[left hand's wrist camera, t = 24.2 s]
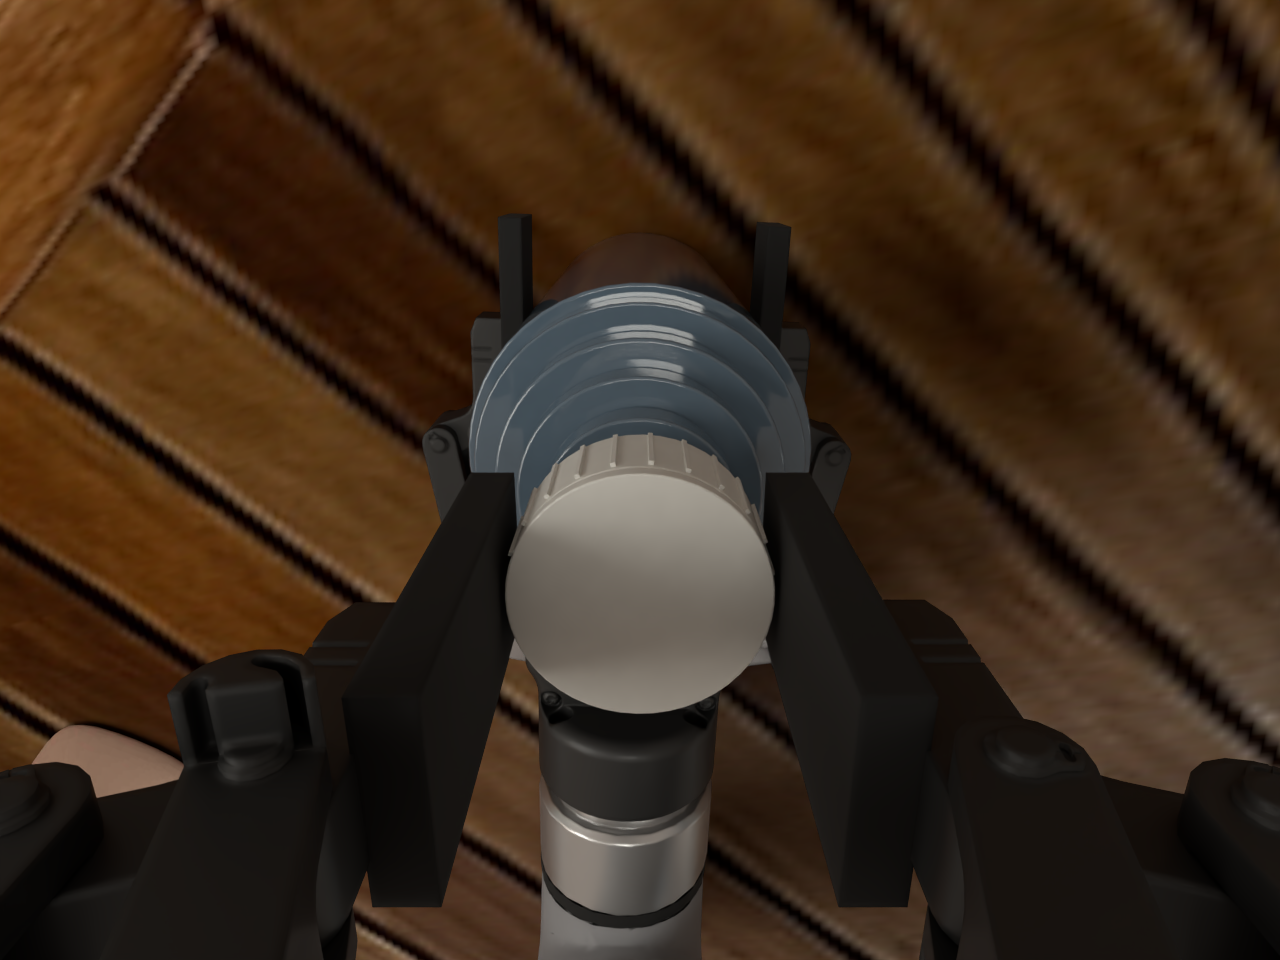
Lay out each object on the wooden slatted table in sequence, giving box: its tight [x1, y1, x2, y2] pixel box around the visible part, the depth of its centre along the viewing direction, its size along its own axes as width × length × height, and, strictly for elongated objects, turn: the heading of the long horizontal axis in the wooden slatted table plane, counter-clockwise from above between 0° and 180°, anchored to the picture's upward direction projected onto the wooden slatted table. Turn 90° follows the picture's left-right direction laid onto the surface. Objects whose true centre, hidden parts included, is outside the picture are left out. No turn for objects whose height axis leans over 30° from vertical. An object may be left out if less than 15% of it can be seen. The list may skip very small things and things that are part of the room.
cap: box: [505, 433, 775, 714], centre depth 14 cm, size 4×4×2 cm
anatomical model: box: [32, 725, 184, 798], centre depth 43 cm, size 13×4×12 cm
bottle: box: [469, 233, 811, 527], centre depth 24 cm, size 8×8×23 cm
